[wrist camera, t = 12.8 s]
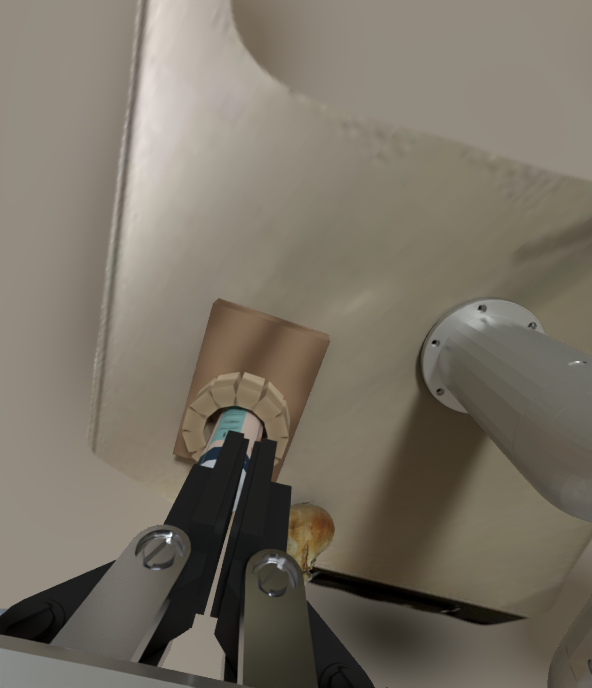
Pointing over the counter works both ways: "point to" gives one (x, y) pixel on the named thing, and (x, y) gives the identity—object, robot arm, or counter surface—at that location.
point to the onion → (308, 535)
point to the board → (259, 358)
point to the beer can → (234, 421)
